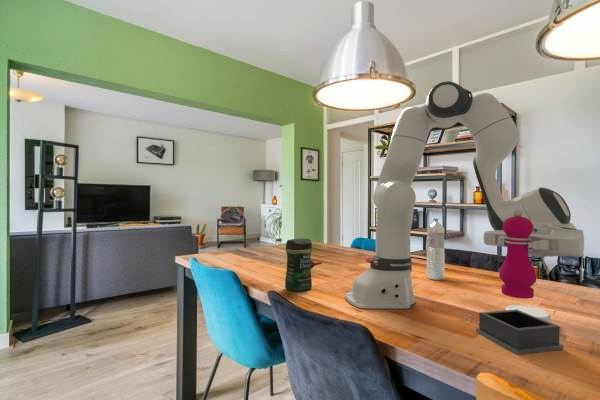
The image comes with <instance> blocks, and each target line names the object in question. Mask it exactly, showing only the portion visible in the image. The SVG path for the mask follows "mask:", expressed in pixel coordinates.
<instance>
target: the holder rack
mask: <svg viewBox="0 0 600 400" xmlns="http://www.w3.org/2000/svg"><path fill="white" fill-rule="evenodd" d="M478 318H479V320H478V321H479V322H478V323H479V324H478V326H479V327H475V332H476V333H477V334H479V335H481V336H482V337H484V338H486V339H488V340H490V341H492V342H493V343H495V344H497V345H499V346H501V347H503V348H504V349H506V350H508V351H510V352H511V353H514V354H515V355H517V356H519V355H528V354H537V353H546V352H555V351H563V350H564V348H565V347H564V344H561V342H560V328H561V327H560V326H559V325H557V324H554V323H552V322H551V323H550V322H547V321H545V320H542V319H540V318H537V317H534V316H532V315H529V314H527V313H524V312H522V311H519V310H494V311H482V312H479V316H478Z"/></svg>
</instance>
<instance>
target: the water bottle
mask: <svg viewBox="0 0 600 400" xmlns="http://www.w3.org/2000/svg"><path fill="white" fill-rule="evenodd" d="M426 236H427V237H426V278H427V279H429V280H433V281H443V280H444V279H445V271H446V270H445V266H446V265H445V263H446V262H445V261H446V259H445V252H446V251H445V249H446V248H445V227H444V226H443V225H442V224H441V222H439V218H433V222H431V223H430V224H429V225H427V227H426Z"/></svg>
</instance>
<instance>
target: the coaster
mask: <svg viewBox="0 0 600 400" xmlns="http://www.w3.org/2000/svg"><path fill="white" fill-rule="evenodd" d="M505 310H519V311H522V312H524V313H527V314H529V315H532V316H534V317H537V318H540V319H542V320H545V321H547V322H550V323H552V315H551V313H549V312H548V311H546V310H544V309H542V308H537V307H534V306H528V305H520V304H512V305H508V306H506V307H505Z"/></svg>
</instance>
